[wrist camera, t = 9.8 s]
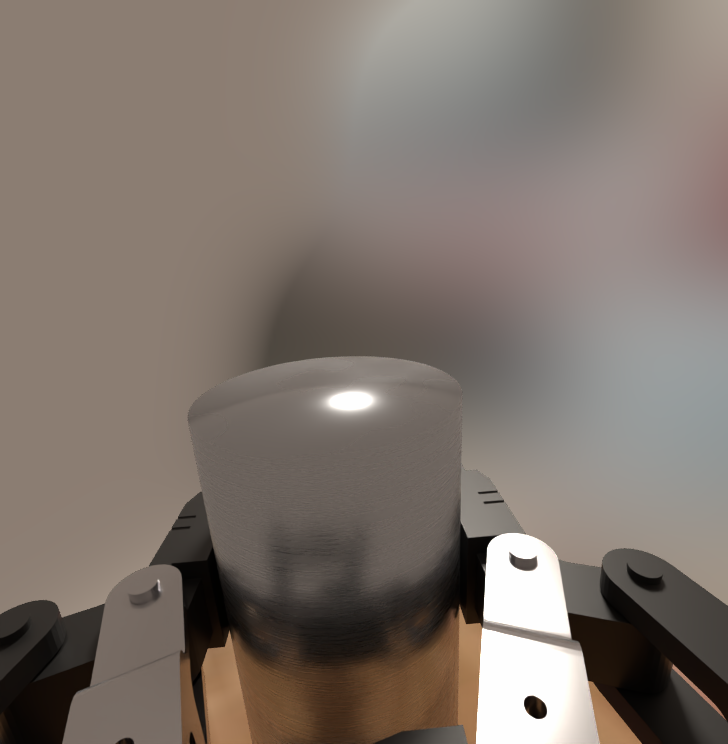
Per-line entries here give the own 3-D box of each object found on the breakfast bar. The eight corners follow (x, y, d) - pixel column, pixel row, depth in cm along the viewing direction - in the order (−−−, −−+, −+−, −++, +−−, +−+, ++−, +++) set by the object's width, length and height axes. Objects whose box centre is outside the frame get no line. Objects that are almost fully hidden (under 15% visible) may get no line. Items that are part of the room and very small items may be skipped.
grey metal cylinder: (239, 895, 9) (131, 468, 6) (276, 656, 14) (229, 364, 11) (486, 866, 9) (507, 439, 6) (433, 641, 14) (430, 350, 11)
